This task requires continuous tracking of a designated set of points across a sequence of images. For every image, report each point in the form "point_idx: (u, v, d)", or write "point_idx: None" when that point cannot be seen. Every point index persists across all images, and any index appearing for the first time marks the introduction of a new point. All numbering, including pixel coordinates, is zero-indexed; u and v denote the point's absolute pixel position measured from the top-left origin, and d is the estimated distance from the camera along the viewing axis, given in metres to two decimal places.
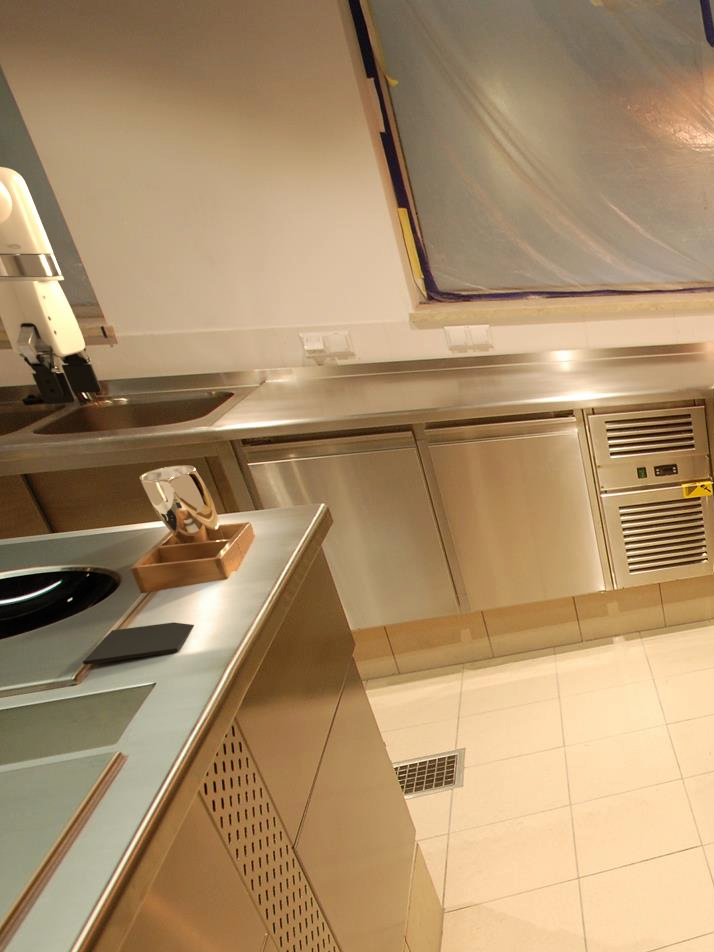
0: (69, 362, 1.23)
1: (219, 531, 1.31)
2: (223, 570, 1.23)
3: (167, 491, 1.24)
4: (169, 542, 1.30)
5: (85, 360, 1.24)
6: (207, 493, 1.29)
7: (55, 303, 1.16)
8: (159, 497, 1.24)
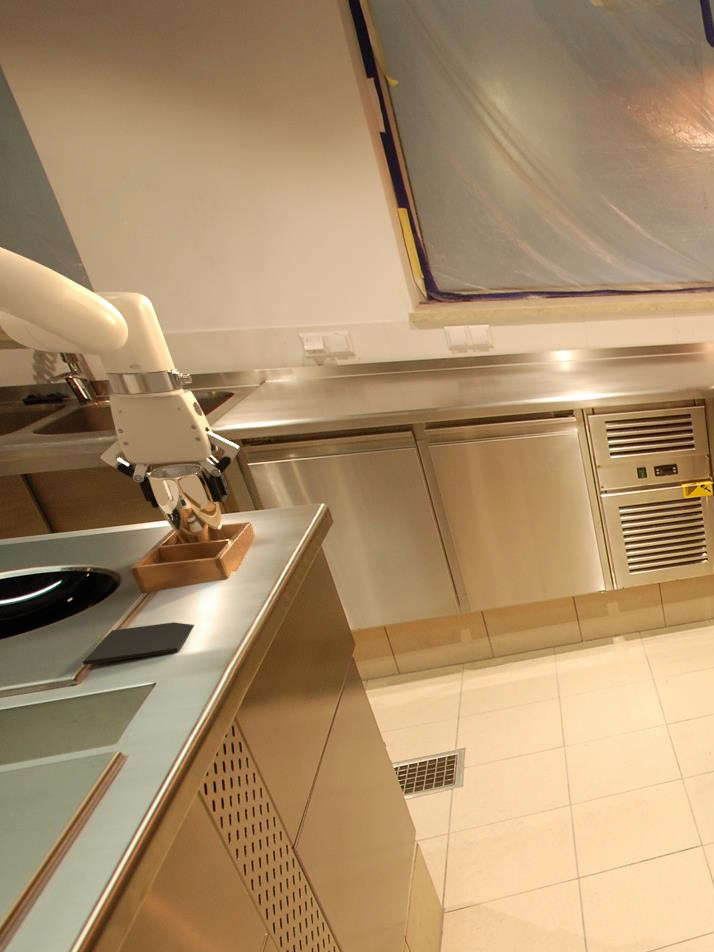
0: None
1: (222, 531, 1.31)
2: (223, 570, 1.23)
3: (174, 490, 1.24)
4: (169, 542, 1.30)
5: (210, 473, 1.28)
6: (213, 493, 1.29)
7: (140, 417, 1.21)
8: (165, 495, 1.24)
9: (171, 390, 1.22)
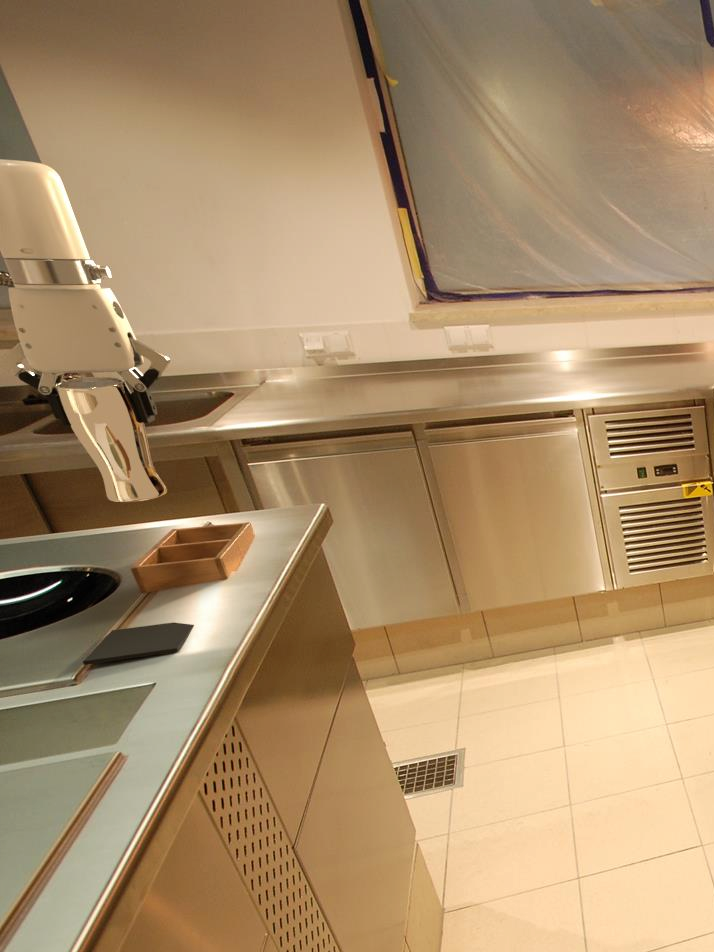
0: None
1: (148, 458, 1.12)
2: (223, 570, 1.23)
3: (88, 403, 1.05)
4: (169, 542, 1.30)
5: (133, 387, 1.09)
6: None
7: (46, 314, 1.02)
8: (77, 410, 1.05)
9: (84, 283, 1.02)
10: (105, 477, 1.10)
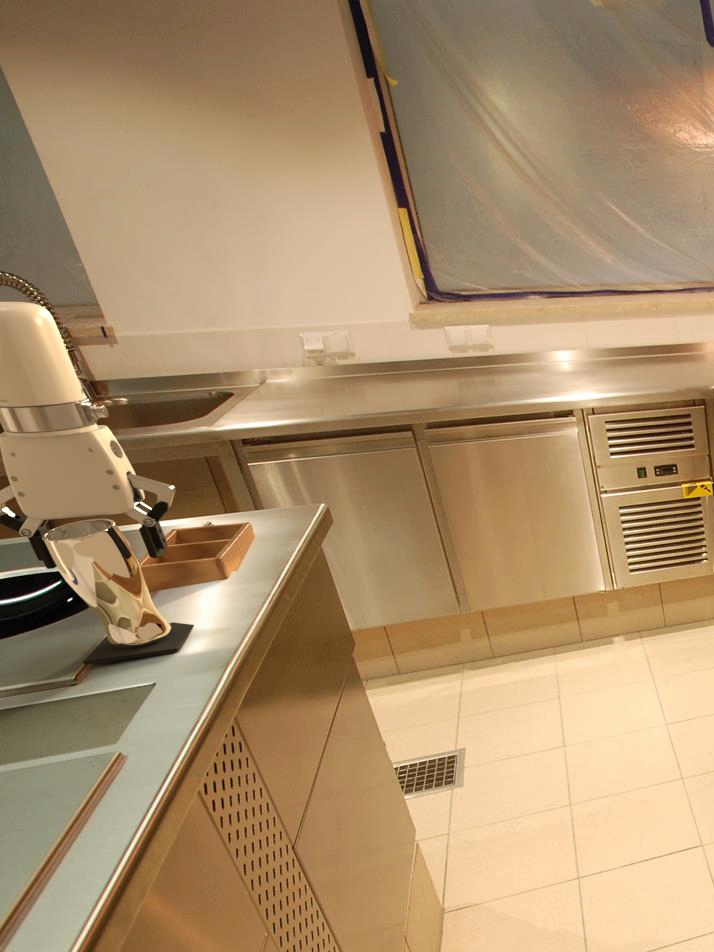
0: None
1: (148, 599, 1.05)
2: (223, 570, 1.23)
3: (76, 554, 0.98)
4: (169, 542, 1.30)
5: (141, 522, 1.02)
6: (131, 553, 1.03)
7: (39, 461, 0.95)
8: (66, 561, 0.98)
9: (79, 427, 0.96)
10: (105, 625, 1.04)
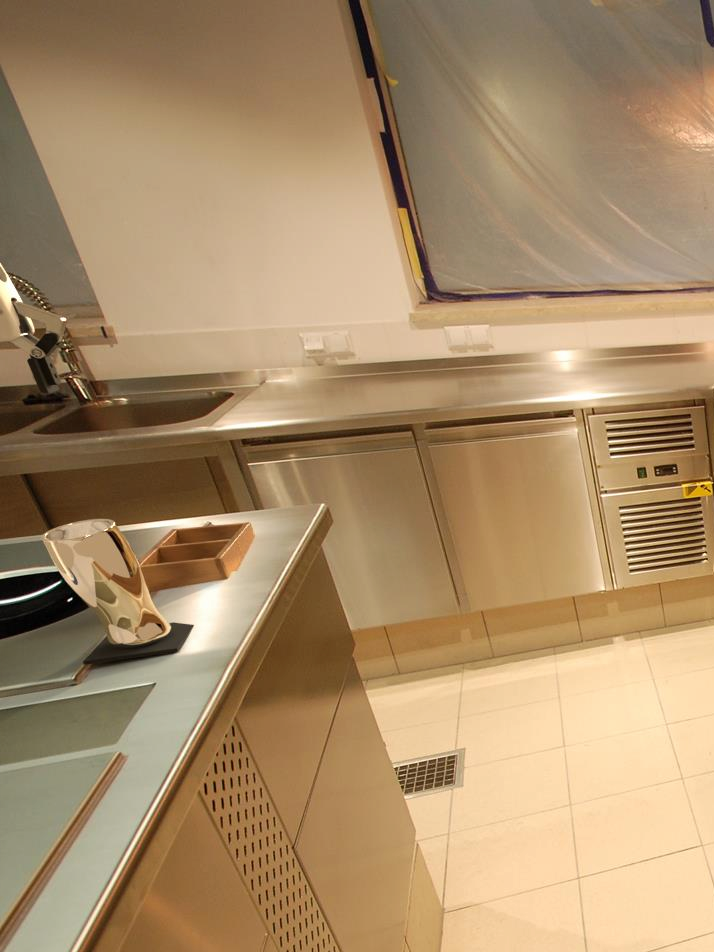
0: None
1: (148, 599, 1.05)
2: (223, 570, 1.23)
3: (76, 554, 0.98)
4: (169, 542, 1.30)
5: (29, 353, 0.98)
6: (131, 553, 1.03)
7: None
8: (66, 561, 0.98)
9: None
10: (105, 625, 1.04)
